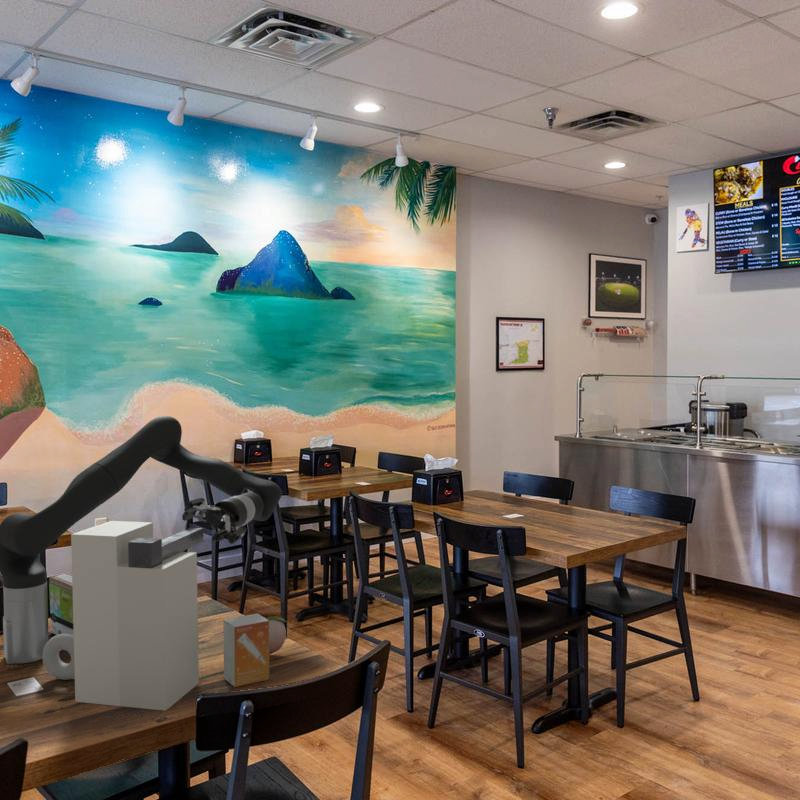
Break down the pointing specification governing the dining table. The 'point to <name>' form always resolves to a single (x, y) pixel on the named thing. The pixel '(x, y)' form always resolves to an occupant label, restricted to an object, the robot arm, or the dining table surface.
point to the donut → (52, 656)
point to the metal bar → (161, 548)
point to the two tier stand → (132, 621)
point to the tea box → (61, 604)
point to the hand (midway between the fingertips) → (199, 526)
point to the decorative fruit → (276, 633)
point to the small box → (246, 649)
